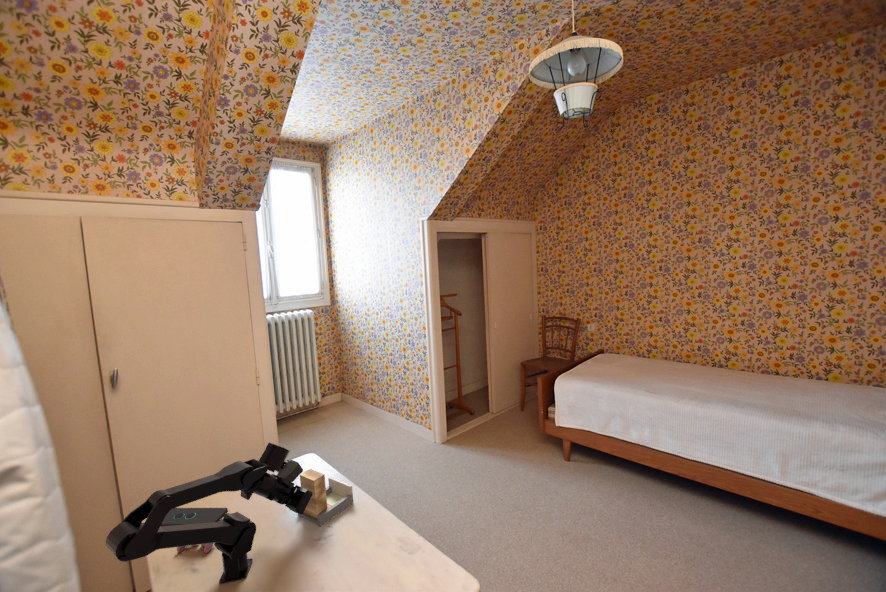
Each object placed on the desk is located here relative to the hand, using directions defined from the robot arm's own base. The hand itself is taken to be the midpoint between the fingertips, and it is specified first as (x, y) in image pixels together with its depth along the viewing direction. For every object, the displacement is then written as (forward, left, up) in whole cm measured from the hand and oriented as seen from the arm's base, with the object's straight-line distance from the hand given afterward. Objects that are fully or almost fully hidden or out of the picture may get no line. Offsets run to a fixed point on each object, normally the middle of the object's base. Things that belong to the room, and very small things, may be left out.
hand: (304, 500), depth 120 cm
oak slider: (+2, -2, -6) cm, 7 cm away
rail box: (+5, -5, -7) cm, 11 cm away
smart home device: (+12, +37, -8) cm, 40 cm away
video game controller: (-2, +30, -8) cm, 31 cm away
